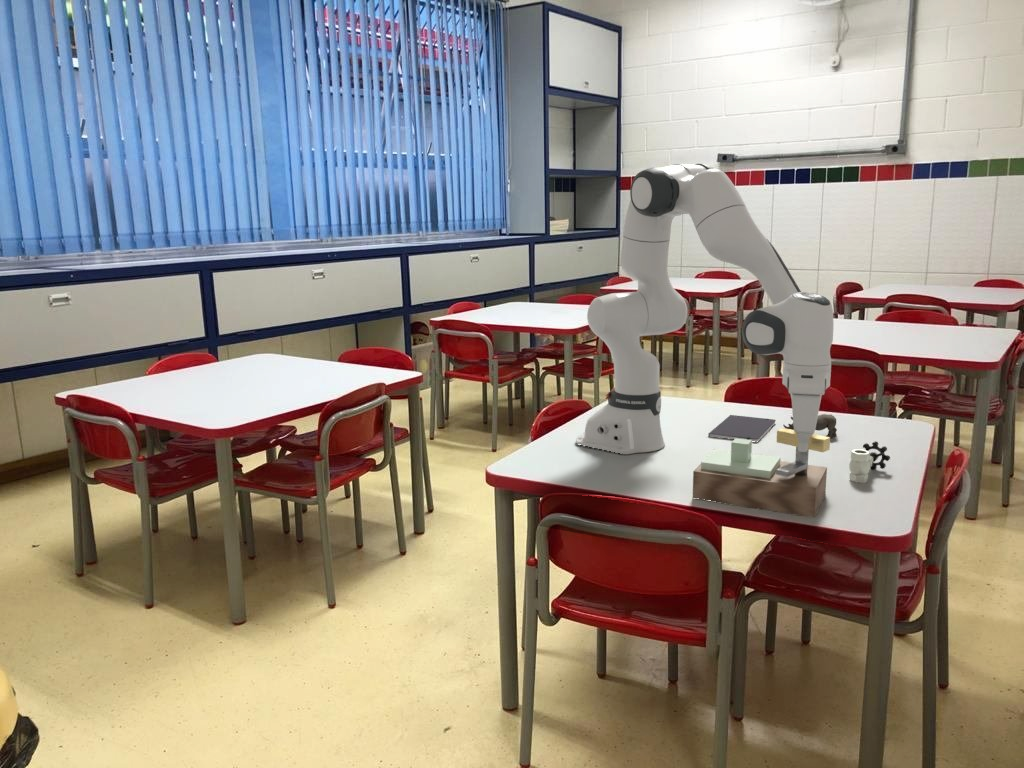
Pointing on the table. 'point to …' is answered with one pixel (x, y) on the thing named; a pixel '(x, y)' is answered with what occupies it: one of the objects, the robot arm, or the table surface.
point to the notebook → (742, 428)
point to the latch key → (801, 458)
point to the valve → (866, 462)
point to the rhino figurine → (822, 424)
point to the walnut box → (764, 490)
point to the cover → (741, 460)
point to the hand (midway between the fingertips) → (802, 444)
